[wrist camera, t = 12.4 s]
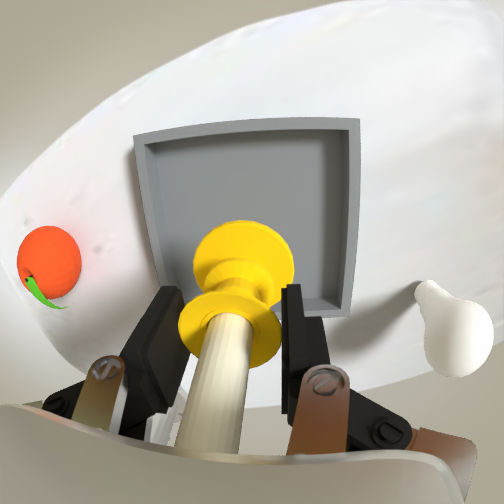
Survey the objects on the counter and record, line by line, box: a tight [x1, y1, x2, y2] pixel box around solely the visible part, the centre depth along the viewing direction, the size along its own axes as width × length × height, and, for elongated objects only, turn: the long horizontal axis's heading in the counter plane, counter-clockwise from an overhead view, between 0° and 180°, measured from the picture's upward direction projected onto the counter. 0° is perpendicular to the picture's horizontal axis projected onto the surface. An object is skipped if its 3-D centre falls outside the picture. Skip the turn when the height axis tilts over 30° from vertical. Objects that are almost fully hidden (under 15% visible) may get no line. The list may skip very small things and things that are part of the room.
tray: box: [133, 117, 361, 320], centre depth 22 cm, size 16×16×2 cm
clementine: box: [17, 226, 81, 309], centre depth 22 cm, size 8×7×7 cm
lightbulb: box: [414, 280, 493, 378], centre depth 19 cm, size 6×6×11 cm
